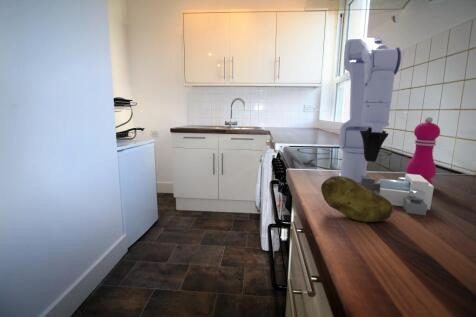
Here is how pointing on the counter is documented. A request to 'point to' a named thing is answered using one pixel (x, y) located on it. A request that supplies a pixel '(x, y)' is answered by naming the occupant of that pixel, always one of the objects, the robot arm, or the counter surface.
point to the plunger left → (401, 178)
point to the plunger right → (416, 196)
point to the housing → (402, 196)
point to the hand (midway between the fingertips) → (369, 160)
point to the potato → (355, 200)
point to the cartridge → (384, 184)
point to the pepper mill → (424, 150)
